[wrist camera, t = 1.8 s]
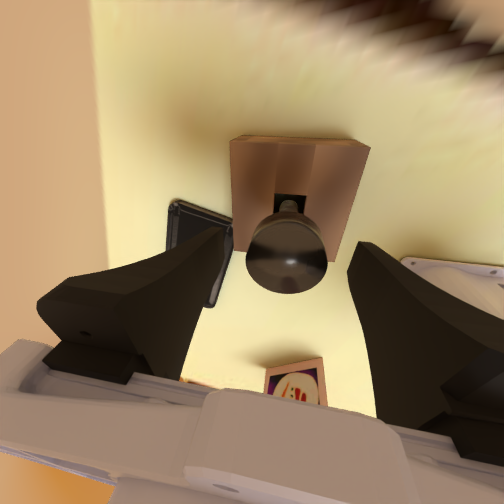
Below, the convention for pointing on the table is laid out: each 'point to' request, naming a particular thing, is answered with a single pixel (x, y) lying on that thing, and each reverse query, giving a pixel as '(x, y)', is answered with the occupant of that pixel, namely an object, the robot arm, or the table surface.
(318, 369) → the greeting card
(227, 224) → the phone
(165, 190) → the table surface
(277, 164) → the box
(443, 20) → the table surface
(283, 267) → the dark round knob
